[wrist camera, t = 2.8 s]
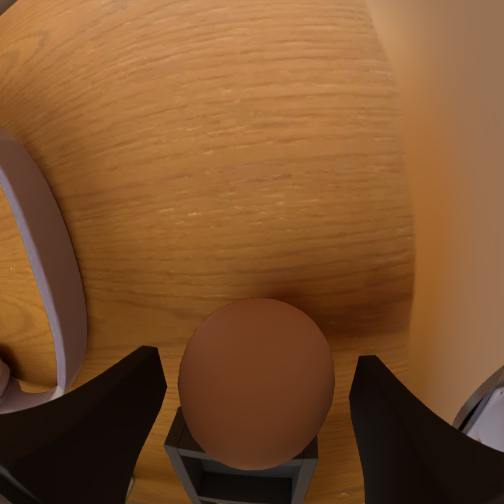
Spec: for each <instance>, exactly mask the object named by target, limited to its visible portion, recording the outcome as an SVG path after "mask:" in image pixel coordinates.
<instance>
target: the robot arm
mask: <svg viewBox="0 0 504 504" xmlns="http://www.w3.org/2000/svg"><path fill="white" fill-rule="evenodd" d="M166 389H167V384H166V380H165V376H164V372H163V368H162V364H161V360H160V356H159V352H158V348H157V347H151V346H144V345H143V346H141V347H140V348H138V349H136V350H135V351H133V352H132V353H131V354H129V355H128V356H126V357H125V358H123V359H122V360H121V361H119V362H118V363H116V364H115V365H113V366H112V367H110V368H109V369H107V370H106V371H104V372H103V373H102V374H100V375H98V376H97V377H95V378H93V379H92V380H90V381H88V382H87V383H85V384H84V385H82V386H80V387H78V388H77V389H75V390H73V391H71V392H69V393H67V394H65V395H62V396H60V397H58V398H56V399H53V400H51V401H48V402H45V403H43V404H40V405H37V406H34V407H31V408H27V409H24V410H20V411H15V412H10V413H5V414H0V504H125V501H126V496H127V492H128V489H129V485H130V481H131V477H132V474H133V471H134V468H135V465H136V461H137V459H138V456H139V454H140V451H141V449H142V447H143V445H144V443H145V441H146V439H147V437H148V434H149V432H150V430H151V428H152V426H153V424H154V422H155V420H156V418H157V415H158V413H159V411H160V409H161V406H162V403H163V400H164V396H165V393H166ZM349 401H350V411H351V420H352V424H353V429H354V433H355V438H356V442H357V446H358V451H359V455H360V460H361V464H362V470H363V476H364V490H365V504H504V386H501V387H498V388H497V389H496V390H495V391H494V393H493V394H492V396H491V398H490V399H489V401H488V403H487V404H486V406H485V408H484V409H483V411H482V412H481V414H480V415H479V417H478V418H477V420H476V421H475V423H474V424H473V426H472V427H471V429H470V430H469V432H468V433H467V434H464V433H462V432H460V431H459V430H457V429H456V428H454V427H453V426H451V425H449V424H448V423H447V422H445V421H444V420H443V419H441V418H440V417H439V416H437V415H436V414H435V413H433V412H432V411H431V410H430V409H429V408H428V407H426V406H425V405H424V404H423V403H422V402H421V401H420V400H419V399H417V398H416V397H415V396H414V395H413V394H412V393H411V392H410V391H409V390H408V389H407V388H406V387H405V386H404V385H403V384H402V383H401V382H400V381H399V380H398V379H397V378H396V377H395V375H394V374H393V373H392V372H391V371H390V370H389V369H388V368H387V367H386V366H385V365H384V364H383V363H382V361H381V360H380V359H379V358H378V357H377V356H376V355H367V356H359V359H358V363H357V367H356V371H355V375H354V379H353V383H352V386H351V390H350V394H349ZM478 439H480V440H481V442H482V443H480V442H478V441H476V440H478Z"/></svg>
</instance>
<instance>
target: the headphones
mask: <svg viewBox="0 0 504 504" xmlns="http://www.w3.org/2000/svg"><path fill="white" fill-rule="evenodd" d="M0 184H1V186H2V188H3V190H4V192H5V195H6V197H7V199H8V201H9V203H10V205H11V208H12V211H13V213H14V216H15V219H16V222H17V224H18V227H19V230H20V232H21V235H22V238H23V241H24V245H25V248H26V251H27V254H28V257H29V260H30V263H31V266H32V270H33V273H34V276H35V279H36V282H37V284H38V287H39V290H40V293H41V296H42V299H43V302H44V305H45V308H46V311H47V315H48V319H49V322H50V326H51V330H52V335H53V340H54V345H55V353H56V360H57V383H58V386H55V387H53V389H52V390H50V391H47V392H43V393H26V392H24V391H22V390H21V387H20V384H19V381H18V380H17V379H16V378H15V377H13V376H10V370H9V367H8V365H7V364H5V363H4V362H3V361H1V358H0V414H5V413H10V412H15V411H20V410H24V409H27V408H31V407H34V406H37V405H40V404H43V403H45V402H48V401H51V400H53V399H56V398H58V397H60V396H62V395H65V394H66V393H67V392H68V390H69V389H70V387H71V386H72V384H73V383H74V381H75V380H76V378H77V376H78V374H79V372H80V370H81V367H82V365H83V361H84V357H85V352H86V346H87V314H86V304H85V298H84V292H83V285H82V281H81V277H80V272H79V268H78V265H77V261H76V258H75V254H74V250H73V247H72V244H71V241H70V237H69V234H68V231H67V228H66V226H65V223H64V220H63V218H62V215H61V212H60V210H59V208H58V205H57V203H56V201H55V199H54V197H53V194H52V192H51V190H50V188H49V185H48V183H47V182H46V180H45V178H44V176H43V174H42V173H41V171H40V170H39V168H38V166H37V165H36V163H35V161H34V160H33V159H32V157H31V156H30V155H29V153H28V152H27V151H26V150H25V148H24V147H23V146H22V145H21V144H20V142H19V141H18V140H16V139H15V138H14V137H13V136H12V135H11V134H10V133H9V132H7V131H6V130H5V129H3V128H2V127H0Z"/></svg>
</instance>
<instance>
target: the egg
mask: <svg viewBox="0 0 504 504" xmlns="http://www.w3.org/2000/svg"><path fill="white" fill-rule="evenodd" d="M334 387H335V376H334V363H333V359H332V355H331V351H330V348H329V345H328V342H327V340H326V338H325V337H324V335H323V334H322V332H321V331H320V329H319V328H318V327H317V325H316V324H315V322H314V321H313V320H312V319H311V318H309V317H308V316H307V315H306V314H305V313H304V312H303V311H301V310H299V309H297V308H295V307H294V306H292V305H290V304H287V303H284V302H281V301H278V300H275V299H267V298H250V299H243V300H238V301H235V302H233V303H230V304H227V305H225V306H224V307H222V308H220V309H218V310H217V311H215V312H213V313H212V314H211V315H209V316H208V317H207V318H206V319H205V320H204V321H203V322H202V324H201V325H200V326H199V327H198V328H197V329H196V331H195V332H194V334H193V335H192V337H191V339H190V340H189V342H188V343H187V346H186V349H185V352H184V355H183V358H182V361H181V364H180V369H179V376H178V390H179V397H180V403H181V409H182V413H183V416H184V419H185V421H186V423H187V426H188V428H189V430H190V432H191V434H192V437H193V438H194V439H195V441H196V442H197V443H198V444H199V445H200V446H201V447H202V449H203V450H204V451H205V452H206V453H207V454H208V455H209V456H211V457H212V458H214V459H216V460H217V461H219V462H221V463H223V464H225V465H227V466H229V467H233V468H237V469H241V470H264V469H268V468H272V467H276V466H278V465H280V464H282V463H284V462H286V461H288V460H290V459H292V458H293V457H295V456H296V455H298V454H299V453H301V452H302V451H303V449H304V448H305V447H306V446H307V445H308V444H309V443H310V442H311V440H312V439H313V438H314V437H315V436H316V434H317V433H318V431H319V429H320V428H321V426H322V424H323V422H324V420H325V418H326V416H327V414H328V412H329V409H330V406H331V403H332V400H333V394H334Z"/></svg>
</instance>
